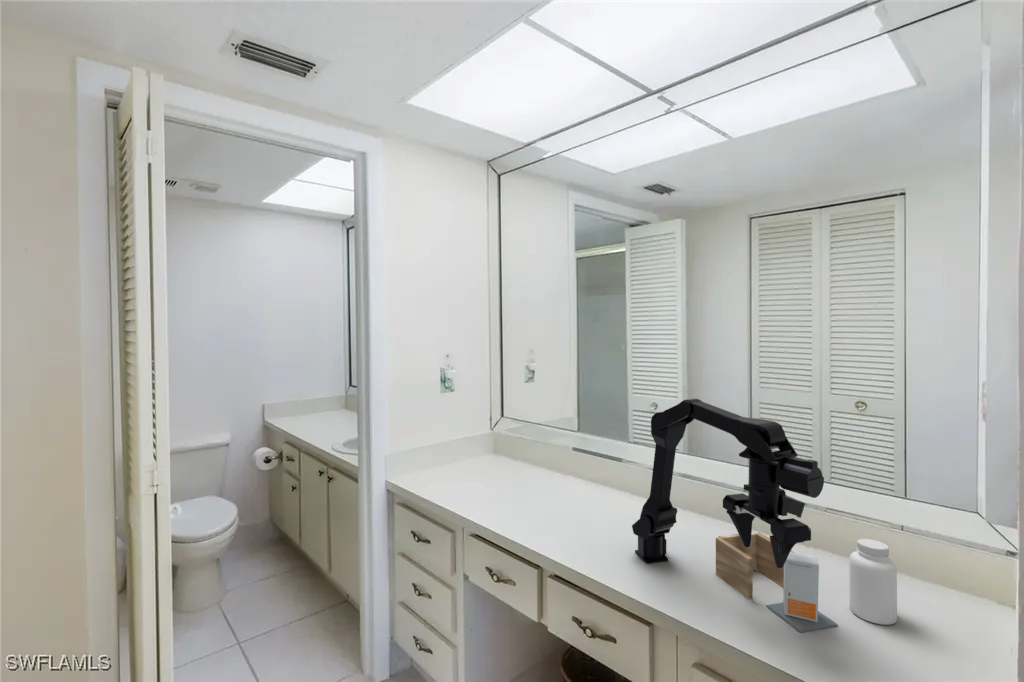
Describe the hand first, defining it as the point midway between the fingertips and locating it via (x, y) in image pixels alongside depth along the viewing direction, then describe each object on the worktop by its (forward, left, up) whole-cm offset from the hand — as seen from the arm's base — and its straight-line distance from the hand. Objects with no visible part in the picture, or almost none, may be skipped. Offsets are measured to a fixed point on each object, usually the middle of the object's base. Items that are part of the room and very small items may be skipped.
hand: (762, 556), depth 98 cm
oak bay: (+8, +11, -13) cm, 19 cm away
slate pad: (+8, -2, -13) cm, 15 cm away
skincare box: (+8, -2, -12) cm, 15 cm away
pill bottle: (+23, -5, -13) cm, 27 cm away
